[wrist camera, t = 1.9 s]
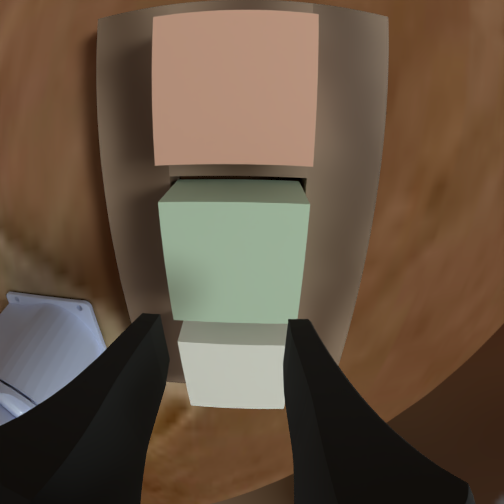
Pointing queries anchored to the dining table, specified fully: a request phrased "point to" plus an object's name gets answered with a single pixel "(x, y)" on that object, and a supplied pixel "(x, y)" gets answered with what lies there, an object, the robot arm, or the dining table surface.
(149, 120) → the brown tray
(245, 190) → the sage button
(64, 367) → the robot arm
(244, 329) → the cream button
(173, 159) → the terracotta button
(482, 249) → the dining table surface
